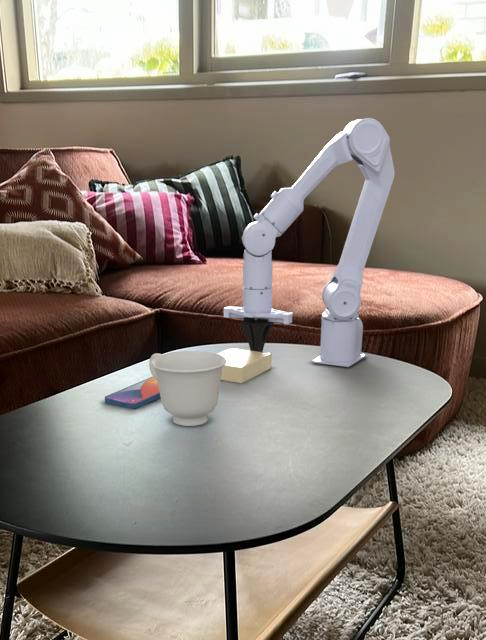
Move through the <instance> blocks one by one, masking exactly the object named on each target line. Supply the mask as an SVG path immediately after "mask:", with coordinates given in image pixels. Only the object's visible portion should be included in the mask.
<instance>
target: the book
mask: <svg viewBox="0 0 486 640" xmlns="http://www.w3.org/2000/svg"><path fill="white" fill-rule="evenodd" d="M216 354H219V355H221V356H223V357H224V358H225V359H226V360H227V362H226V364H225V365H224V366H223V369H222V374H221V381H225V382H232V383H237V384H244V383H245V382H247V381H250V380H251V379H253V378H255V377H256V376H259V375H261V374H262V373H264V372H266V371H269V370H270V369H272V352H271V353H270V352H264V351H263V352H257V351H251V350H250V349H242V348H235V347H229V348H226V349H224V350H221V351H220V352H219V351H218V352H217V353H216Z"/></svg>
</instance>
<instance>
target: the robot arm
mask: <svg viewBox="0 0 486 640" xmlns="http://www.w3.org/2000/svg"><path fill="white" fill-rule="evenodd" d="M352 161H354V162H355V163H357V166H358V167H359V170H360V171H361V173H362V175H363V177H364V183H363V186H362V189H361V192H360V196H359V198H358V202H357V205H356V208H355V211H354V214H353V218H352V221H351V224H350V227H349V230H348V233H347V237H346V240H345V242H344V245H343V249H342V253H341V256H340V259H339V262H338V264H337V266H336V268H334V271H333V272H332V276H331V278H330V280H329V281H328V282H327V283H326V284H325V286H324V287H323V289H322V292H321V293H322V294H321V300H322V302H323V304H324V306H325V307H326V308H324V309H325V310H324V311H323V312H322V313H321V327H320V329H321V330H320V344H319V345H320V346H319V347H320V348H319V356H317V357H315V358H313V359H312V360H311V362H312V363H314V364H320V365H321V364H322V365H329V366H335V367H343V368H349V367H351V366H353V365H354V364H356V363H358V362H359V361H361V360H363V359H364V358H365V357H366V354H364V353H362V347H363V333H364V325H363V321H362V320H361V318H360V316H359V315H360V314H359V311H360V309H361V305H362V299H361V290H362V287H363V283H364V281H363V280H364V270H365V268H366V267H365V266H366V264H367V261H368V258H369V255H370V252H371V250H372V249H371V248H372V245H373V243H374V240H375V237H376V233H377V231H378V229H379V225H380V222H381V218H382V216H383V213H384V209H385V207H386V204H387V201H388V198H389V194H390V192H391V188H392V185H393V182H394V179H395V174H396V171H395V166H394V161H393V156H392V151H391V137H390V136H389V134H388V133H387V131H386V129H385V128H384V126H383V125H382V123H381V122H380V121H378V120H377V119H375V118H372V117H366V118H362V119H361V118H359V119H358V118H357V119H354V120H352V121H350V122H349V123H348V124H347V125H346V126H345V127H344V128H343V131H340V132H338V133H337V134H336V135H335V136H334V137H333V138H332V139H331V140H329V142H328V143H327V144H326V145H325V146H324V147H323V148H322V150H321V151H320V152H319V153H318V155H317V156H316V157H315V158H314V159H313V161H311V163H310V165H308V167H307V168H306V169H305V170H304V172H303V173H302V174H301V175H300V177H298V179H297V180H296V182H295V183H294V184H293V185H292V186H290V187H281V188H279V191H276V190H274V191H273V192H272V194H270V198H271V200H270V201H269V202H268V203H267V204H266V205H265V206H264V208H263V209H262V210H261V211H260V212H259V213H258V212H256V213H255V214H254V215H253V219H254V220H255V221H252V222H250V223H249V224H247V225H246V226H245V228H244V230H243V232H242V236H241V242H242V244H243V247H244V252H243V260H244V261H243V263H242V306H232V305H228V306H225V307H223V318H227V319H229V318H234V319H243V320H242V321H241V322H240V328H241V329H242V332H243V333H244V335H245V337H246V339H247V343H248V346H249V350H250V351H257V352H264V347H265V344H266V341H267V338H268V336H269V334H270V331H271V330H272V327H273V326H274V323H278V324H283V325H289V324H292V323H293V312H289V311H284V310H279V309H275V308H273V266H274V265H273V264H274V263H273V261H272V259H273V257H272V252H273V251H272V250H274V247H275V245H276V239H277V238H278V237H281V236H282V235H283V234H284V233H285V232H286V231H287V230H288V228H289V227H291V226H292V224H293V223H294V221H296V220H297V218H298V217H299V216H300V215H301V214H302V213H303V212H304V209H305V208H304V207H305V206H304V202H305V201H304V200H305V199H306V198H307V197H308V196H309V195H310V194H311V192H313V191H314V189H316V188H317V186H318V185H319V184H320V183H321V182H322V181H323V180H324V179H325V178H326V177H327V176H328V174H330V173H331V172H332V170H334V168H335V167H337V166H340V165H343V164H346V163H348V162H352Z"/></svg>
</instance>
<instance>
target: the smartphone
mask: <svg viewBox="0 0 486 640" xmlns="http://www.w3.org/2000/svg"><path fill="white" fill-rule="evenodd" d="M159 398H161V397H160V391H159V386H158V381H157V380H156V379H155V378H154V377H153V376H150V377H148V378H145V379H144V380H141V381H137V382H136V383H134V384H132V385H130V386H126V387H124V388H122V389H119V390H117V391H115V392H112V393H110V394H108V395H105V396H104V402H105V403H106V404H111V405H114V406H118V407H119V406H120V407H125V408H128V409H136V408H140V407H142V406H144V405H146V404H148V403H151V402H153V401H155V400H157V399H159Z"/></svg>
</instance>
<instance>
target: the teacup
mask: <svg viewBox="0 0 486 640" xmlns="http://www.w3.org/2000/svg"><path fill="white" fill-rule="evenodd" d="M226 362H227V360H226V359H225V358H224V357H223V356H221V355H219V354H217V353H216V352H211V351H204V350H203V351H201V350H186V351H185V350H182V351H172V352H167V353H163V354H161V353H157V352H156V353H153V354H152V355H151V356H150V358H149V361H148V366H149V371H150V374H151V375H152V377H154V378H155V379H156V380H157V381H158V386H159V391H160V397H159V398H160V401H161V404H162V406H163V409H164V410H165V412H167V413H168V414H170V415H172V416H173V418H172V422H173V423H174V424H175V425H178V426H183V427H196V426H201V425H204V424H205V423H207V422H208V421H209V417H208V415H209V414H211V413H212V412H213V411H214V410H215V409H216V408H217V405H218V402H219V397H220V389H221V381H222V380H221V374H222V369H223V366H224V365H225V364H226Z"/></svg>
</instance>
